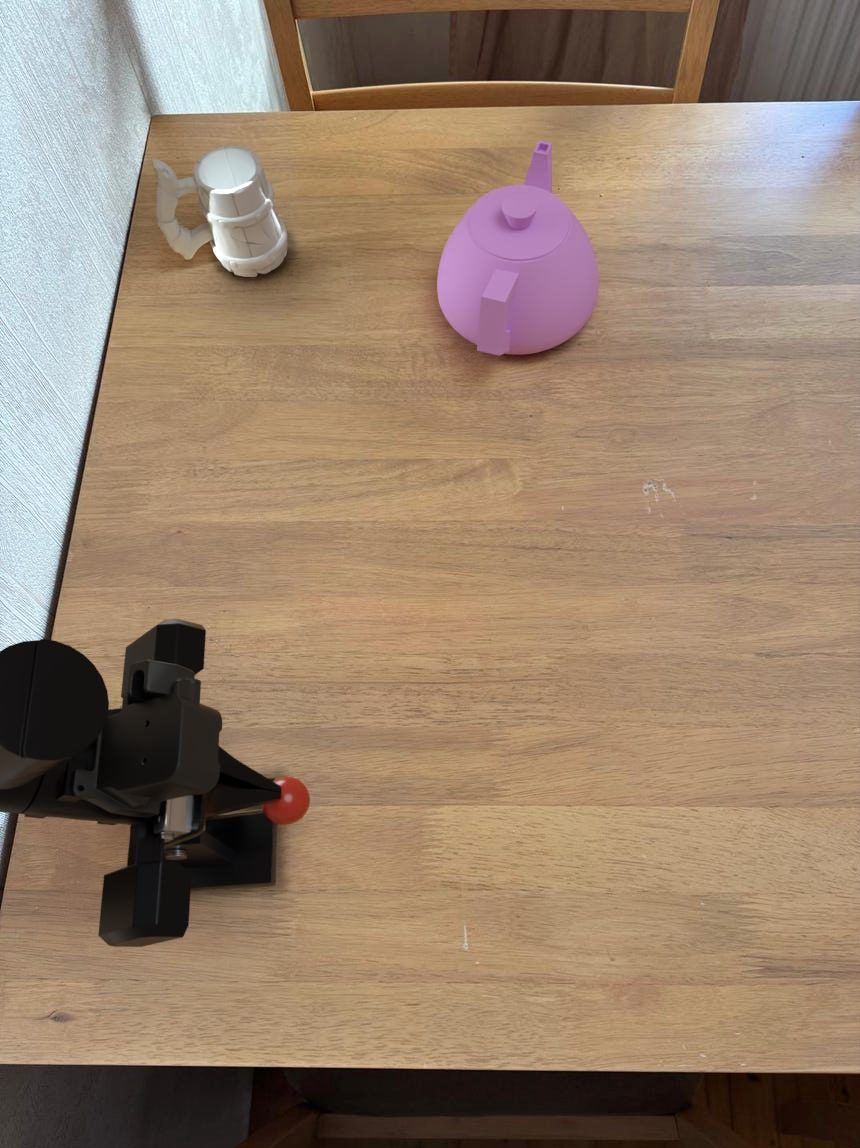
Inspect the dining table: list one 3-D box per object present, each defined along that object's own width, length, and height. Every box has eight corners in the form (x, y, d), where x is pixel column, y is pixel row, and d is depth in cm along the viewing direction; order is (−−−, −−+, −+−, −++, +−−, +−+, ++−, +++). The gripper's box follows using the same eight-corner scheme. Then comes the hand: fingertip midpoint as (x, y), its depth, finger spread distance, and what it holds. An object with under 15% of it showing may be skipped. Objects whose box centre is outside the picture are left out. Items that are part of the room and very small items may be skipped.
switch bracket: (278, 781, 72) (246, 746, 63) (275, 885, 69) (242, 863, 60) (151, 790, 72) (101, 756, 63) (143, 894, 69) (89, 874, 60)
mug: (298, 269, 93) (271, 167, 82) (183, 296, 92) (139, 197, 81) (282, 216, 96) (254, 111, 85) (171, 242, 95) (127, 138, 84)
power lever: (317, 779, 63) (297, 769, 60) (317, 826, 62) (297, 817, 59) (174, 798, 66) (149, 789, 63) (171, 843, 64) (145, 835, 61)
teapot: (571, 406, 86) (582, 314, 75) (412, 376, 87) (399, 281, 76) (615, 235, 94) (630, 129, 83) (468, 210, 96) (464, 103, 85)
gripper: (69, 920, 41) (353, 928, 51) (109, 552, 48) (350, 623, 58) (-15, 946, 48) (248, 948, 58) (31, 623, 55) (258, 675, 66)
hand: (278, 794), depth 60 cm, fingers closed, pressing on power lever
